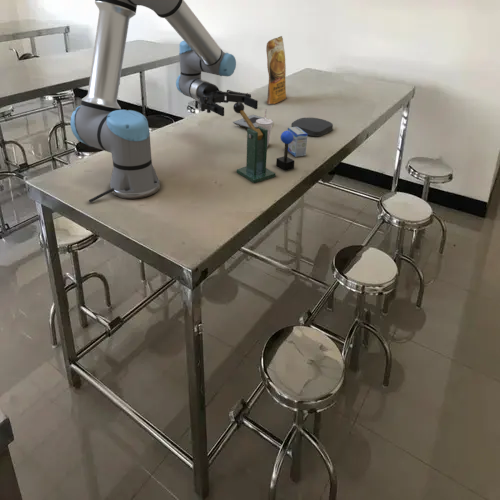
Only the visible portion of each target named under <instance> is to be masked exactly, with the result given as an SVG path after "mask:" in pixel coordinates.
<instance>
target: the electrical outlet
mask: <svg viewBox="0 0 500 500" xmlns="http://www.w3.org/2000/svg"><path fill="white" fill-rule="evenodd" d="M247 116H248V118H249V119H250V121H251V122H252V124H253V125H254V127H255V128H256V129H257V125H256V120H257V119H262V118H264V117H263V116H260V115H256V114H251V115H247ZM266 119H268V118H267V117H266ZM232 123H233V124H234V125H236V126H240V127H242V128H245V129H249V128H250V127H249V126H248V124H247V123H246V121H245V120H244V118H243V117H241V118H240V119H238V120H235V121H232Z"/></svg>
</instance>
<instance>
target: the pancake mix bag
mask: <svg viewBox="0 0 500 500" xmlns="http://www.w3.org/2000/svg"><path fill="white" fill-rule="evenodd" d="M265 51H266V60H267V62H266V65H267V75H268V83H267V98H266V99H267V100H266V104H267V105H276V104H278V103H280V102H282V101H284V100H286V99H287V92H286V91H287V90H286V81H287V80H286V75H287V74H286V73H287V72H286V71H287V70H286V69H287V68H286V66H287V65H286V53H285V52H286V51H285V45H284V37H283V35H280V36H277V37H274V38H272V39H270V40H269V41H267V43H266V50H265Z"/></svg>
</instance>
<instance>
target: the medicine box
mask: <svg viewBox="0 0 500 500" xmlns="http://www.w3.org/2000/svg"><path fill="white" fill-rule="evenodd" d="M287 131H290V132H292V133H293V136H294V138H293V141H292V142H291V143H289V144H288V153H290V155H292V156H293V157H294V158H297V157H299V158H300V157H306V155H307V146H308V145H307V144H308V136H309V135H308V134H307V133H306V132H304V131H303V130H302V129H300V128H299V127H291V126H289V127H287Z"/></svg>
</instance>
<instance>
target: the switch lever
mask: <svg viewBox="0 0 500 500" xmlns="http://www.w3.org/2000/svg"><path fill="white" fill-rule="evenodd" d="M232 109H233V111H234V112H235V113H236V114H240V116H241V118H244V120H245V121H246V123H247V124H248V126H249V127H250V129H252V130H254V131H256V132H258V140H261V139H262V137H263V133H262V132H261V130H260V129H257V128H255V127H254V125H253V124H252V122H251V121H250V119H249V118H248V116H249V115H248V114H247V113H246V112H245V104H244V103H241V102H234V105H233V107H232Z"/></svg>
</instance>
